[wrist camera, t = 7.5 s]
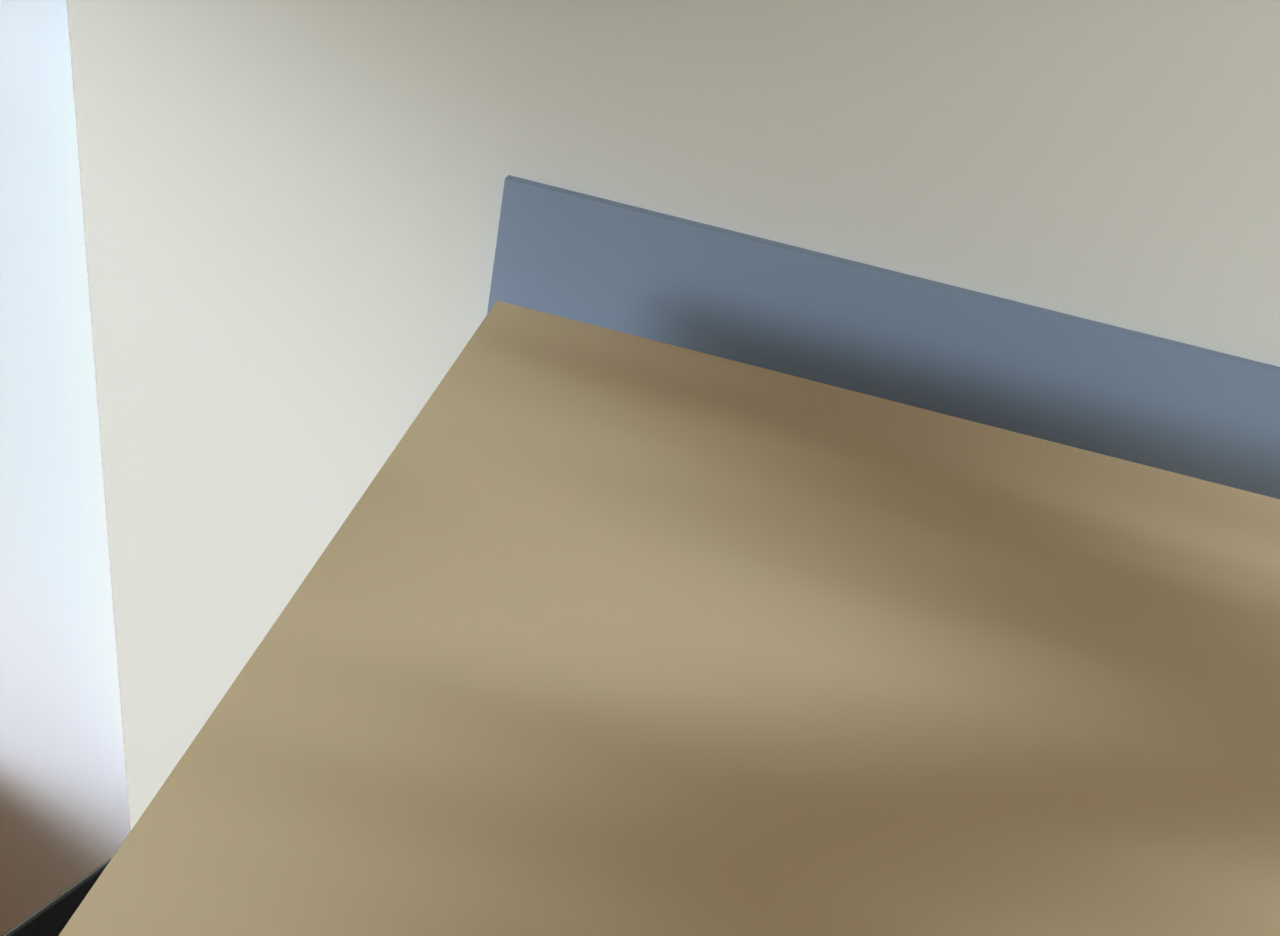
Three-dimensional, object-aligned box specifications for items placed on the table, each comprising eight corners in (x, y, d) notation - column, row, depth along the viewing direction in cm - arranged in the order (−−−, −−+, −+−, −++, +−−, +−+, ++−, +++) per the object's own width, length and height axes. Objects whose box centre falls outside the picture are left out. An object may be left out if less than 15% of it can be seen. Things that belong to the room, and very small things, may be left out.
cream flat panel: (1231, 1077, 14) (1251, 1149, 14) (164, 784, 15) (126, 839, 14) (2053, 140, 8) (2180, 179, 7) (106, -319, 8) (31, -326, 8)
